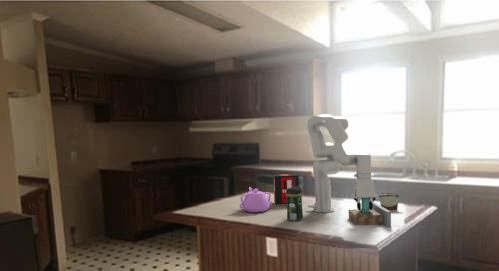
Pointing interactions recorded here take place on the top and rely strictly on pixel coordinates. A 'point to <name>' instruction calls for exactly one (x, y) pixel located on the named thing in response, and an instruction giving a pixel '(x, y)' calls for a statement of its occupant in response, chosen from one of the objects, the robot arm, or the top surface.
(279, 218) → the top surface
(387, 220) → the backstop wall
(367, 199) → the dowel
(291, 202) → the coffee jar
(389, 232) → the top surface
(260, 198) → the teapot
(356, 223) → the socket block
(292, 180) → the cleaning product box
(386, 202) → the food container
